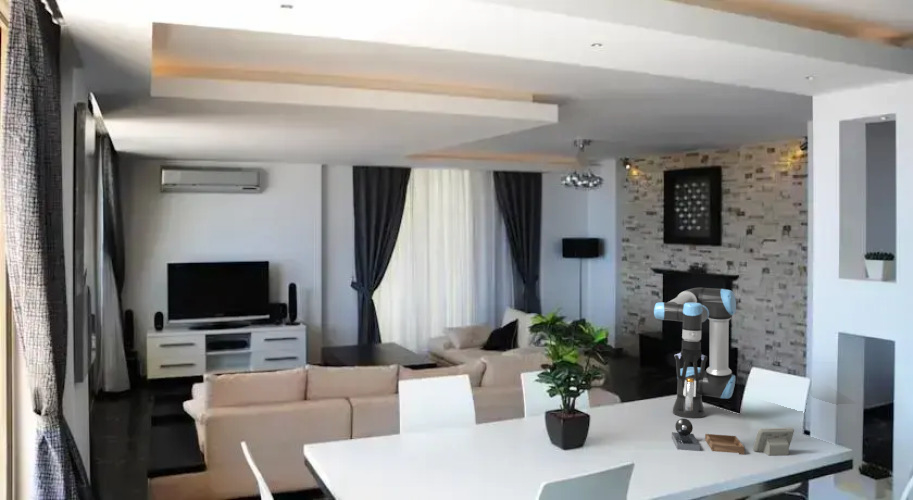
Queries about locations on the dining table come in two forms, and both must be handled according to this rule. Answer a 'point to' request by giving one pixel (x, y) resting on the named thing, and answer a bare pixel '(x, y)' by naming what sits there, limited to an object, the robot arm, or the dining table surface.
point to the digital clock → (773, 441)
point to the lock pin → (689, 394)
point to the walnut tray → (724, 443)
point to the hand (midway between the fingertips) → (689, 395)
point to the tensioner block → (685, 436)
